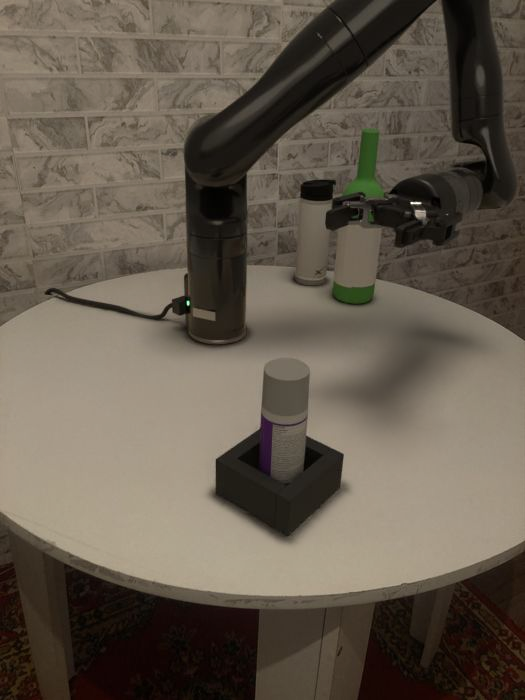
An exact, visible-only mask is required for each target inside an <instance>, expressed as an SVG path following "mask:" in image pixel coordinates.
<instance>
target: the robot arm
mask: <svg viewBox="0 0 525 700" xmlns="http://www.w3.org/2000/svg"><path fill="white" fill-rule="evenodd" d="M437 1H438V0H333V1H332V2H330V3H329V4H328V5H327V6H326V7H325V8H324V9H322V11H320V12H319V13H318V14H317V15H316V16H315V17H314V18H313V19H311V20H310V22H308V23H307V24H306V25H305V26H304V27H303V28H302V29H301V30H300V31H299V32H298V33H297V34H296V35H295V36H294V37H293V38H291V40H290V41H289V43H288V44H287V45H286V46H285V47H284V48H283V49H282V51H281V52H280V53H279V54H278V56H276V58H275V59H274V60H273V62H272V63H271V64H270V66H269V67H268V68H267V69H266V71H265V72H264V73H263V74H262V75H261V77H260V78H259V79H258V80H257V81H256V82H255V83H254V84H253V85H252V86H251V87H250V88H249V89H248V90H247V91H246V92H245V93H243V94H242V95H240V96H239V97H238V98H236V99H235V100H234V101H233V102H232V103H230V104H229V105H227V106H226V107H225V108H223V109H222V110H220V111H219V112H218V113H210V114H206V115H203V116H201V117H199V118H197V119H196V120H195V121H194V122H193V123H192V124H191V125H190V127H189V128H188V130H187V132H186V134H185V137H184V141H183V147H182V149H183V150H182V154H183V155H182V156H183V163H184V187H185V189H184V191H185V193H184V194H185V198H184V199H185V207H184V208H185V209H184V210H185V212H184V213H185V215H184V216H185V230H186V231H185V238H186V240H185V241H186V266H187V270H186V271H187V272H186V273H184V275H183V292H184V293H183V294H184V295H181V296H178V297H174V298H172V299H171V302H170V303H168V304H167V305H166V306H165V307H164V308H163V310H162V312H160V314H155V315H147V314H143V313H139V312H137V311H134V310H132V309H129V308H128V307H124V306H121V305H118V304H117V305H116V304H113V303H106V302H101V301H97V300H90V299H86V298H80V297H76V296H72V295H69V294H67V293H65V292H64V291H62V290H61V289H60V288H59V289H58V288H57V287H51V288H47V289H46V290H45V292H44V295H50V294H51V293H54V294H57V295H59V296H61V298H64V299H66V300H69V301H71V302H74V303H75V302H76V303H78V304H79V303H80V304H85V305H90V306H94V307H100V308H106V309H110V310H115V311H119V312H122V313H125V314H128V315H130V316H132V317H133V316H134V317H137V318H142V319H147V320H153V321H154V320H155V321H157V320H162V319H164V318H165V317H166V316H167V314H168V312H169V311H170V310H172V313H173V314H175V315H177V316H178V317H181V316H183V315H184V317H185V318H184V322H185V325H184V326H185V329H186V330H187V331H188V335H189V336H190V338H191V339H193V340H194V341H196V342H199V343H203V344H207V345H227V344H231V343H232V344H233V343H235V342H238V341H241V340H242V339H243V338H244V337H245V336H246V335H247V326H246V325H247V283H248V282H247V275H248V274H247V273H248V270H247V269H248V225H249V223H248V219H249V215H248V213H249V211H248V190H247V189H248V187H247V186H248V172H249V171H250V170H251V169H252V168H253V167H254V166H255V164H256V163H257V162H259V160H260V159H261V158H262V157H263V156H264V155H265V154H266V153H267V152H269V150H270V149H271V148H272V147H273V146H274V145H275V144H276V143H277V142H278V141H279V140H280V139H281V138H282V137H283V136H284V135H286V134H287V133H288V132H289V131H290V130H291V129H292V128H294V127H295V126H296V125H298V124H299V123H300V122H302V121H303V120H305V119H306V118H307V117H309V116H310V115H312V114H313V113H315V111H317V110H318V109H320V108H321V107H322V106H323V105H325V104H326V103H327V102H328V101H330V100H331V99H333V97H335V96H336V95H338V94H339V93H340V92H341V91H343V90H344V89H345V88H346V87H348V86H349V85H350V84H352V83H353V82H354V81H355V80H356V79H357V78H358V77H359V76H360V75H362V74H363V73H364V72H366V71H367V70H368V69H369V68H370V67H371V66H372V65H374V63H375V62H377V61H378V60H379V59H380V58H381V57H382V56H383V55H384V54H385V53H386V52H387V51H388V50H389V49H390V48H391V47H392V46H393V45H395V43H397V41H399V39H401V37H402V36H403V35H405V33H406V32H407V31H408V30H409V29H410V28H411V27H412V26H413V25H414V24H415V23H416V21H417V20H418V19H420V17H421V16H422V15H423V14H424V13H425V12H426V11H427V10H428V9H429V8H430V7H431V6H433V4H435V3H436V2H437ZM440 3H441V10H442V16H443V17H442V18H443V24H444V32H445V41H446V54H447V55H446V57H447V67H448V68H447V69H448V71H447V72H448V97H449V120H450V123H449V125H450V136H451V139H452V141H453V142H454V143H457V144H460V145H467V146H468V145H469V146H474V147H476V148H479V150H480V151H481V152H482V154H483V156H484V157H485V159H475V160H463V161H456V162H453V163H449V164H447V165H446V166H445V167H444V168H443V169H442V170H433V171H428V172H425V173H422V174H418V175H415V176H412V177H408V178H405V179H403V180H401V181H399V182H398V183H396V184H395V185H394V186H393V187H392V188H391V189H390V191H389V192H388V194H384V196H383V197H365V195H366V194H365V193H363V192H357V193H353V194H349V195H345V196H342V195H340V196H337V197H333V200H332V209H331V210H329V211H327V212H326V219H325V225H326V229H327V230H330V232H331V231H332V232H334V231H336V230H338V229H339V228H342V227H345V226H347V225H359V226H361V227H362V228H364V229H370V228H382V230H384V231H393V232H394V233H395V236H394V244H393V245H394V247H395V248H398V249H404V248H405V247H408V246H412V245H414V244H416V243H417V244H419V245H420V244H425V243H427V241H432V243H431V244H432V245H434V246H436V247H442V246H445V245H447V244H448V243H450V242H451V241H452V240H454V239H456V238H458V237H459V236H460V232H461V227H462V223H463V220H464V219H466V218H468V217H470V216H471V215H472V214H474V213H475V212H476V211H493V210H503V209H505V208H508V207H509V206H510V205H511V204H512V203H513V201H514V200H515V198H516V197H517V195H518V192H519V182H520V181H519V175H518V171H517V167H516V163H515V160H514V157H513V154H512V151H511V148H510V144H509V140H508V137H507V132H506V125H505V113H504V112H505V100H504V99H505V98H504V96H505V95H504V94H505V93H504V91H505V90H504V75H503V65H502V60H501V56H500V52H499V47H498V43H497V39H496V36H495V30H494V27H493V20H492V14H491V0H440ZM369 211H371V215H372V217H373V220H374V221H368V217H369ZM357 215H358V217H357V218H351V217H353V216H357Z"/></svg>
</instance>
